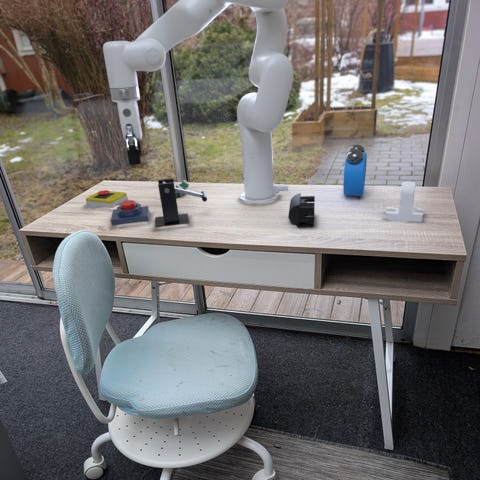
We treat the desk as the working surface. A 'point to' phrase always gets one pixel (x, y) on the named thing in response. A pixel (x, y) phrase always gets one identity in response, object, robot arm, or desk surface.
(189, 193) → the lever
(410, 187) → the cable organizer
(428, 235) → the desk surface
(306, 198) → the end cap
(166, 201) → the bracket
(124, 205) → the button
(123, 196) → the emergency button
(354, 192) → the alarm clock
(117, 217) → the button box
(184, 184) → the gaming controller
